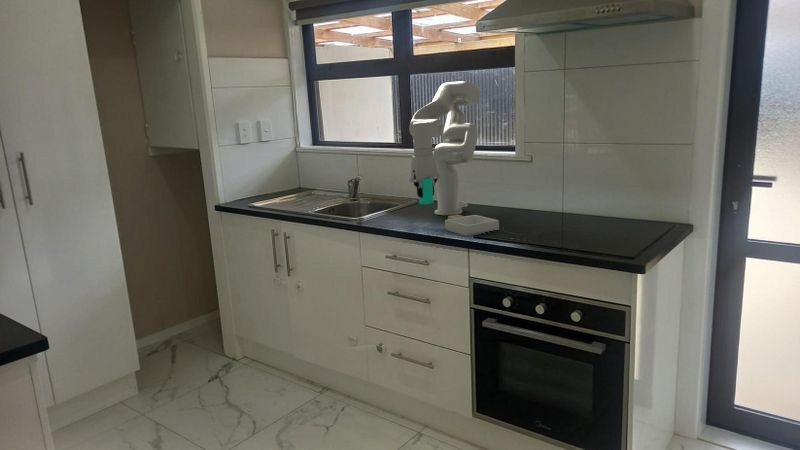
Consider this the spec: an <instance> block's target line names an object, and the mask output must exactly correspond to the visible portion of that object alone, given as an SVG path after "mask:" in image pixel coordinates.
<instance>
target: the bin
mask: <svg viewBox="0 0 800 450" xmlns="http://www.w3.org/2000/svg"><path fill="white" fill-rule="evenodd" d="M493 230H498V231H500V220H498V219H495V218H491V217H486V216H483V215H478V214H472V215H466V216H465V217H459V218H453V219H448V218H447V219H445V220H444V231H448V232H452V233H455V234H458V235H460V236H465V237H471V236H472V237H473V236H476V235H481V233H483V234H486V233H485V232H488V233H490V232H489V231H493ZM493 232H494V231H493Z"/></svg>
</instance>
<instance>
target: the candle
mask: <svg viewBox="0 0 800 450" xmlns="http://www.w3.org/2000/svg"><path fill="white" fill-rule="evenodd" d="M421 183H422V185H421V188H422V191H423V197H422V198H421V197H418V198H419V199H418V202H419V204H420V205H430V204H434V195H433V185H432V178H428V179H424V180H422V181H421ZM418 184H419V182H418Z"/></svg>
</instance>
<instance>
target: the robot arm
mask: <svg viewBox="0 0 800 450" xmlns="http://www.w3.org/2000/svg"><path fill="white" fill-rule="evenodd" d="M480 99H481V91H480V88H479V87H478V86H477V85H475V84H473V83H471V82H468V81H463V80H461V81H450V82H444V83H442V84H441V85H440V86H439V87H438V89H437V91H436V93H435V95H434V97H433V99H432V101H431V102H429V103H427V104H426V105H423V107H421V108H419V109H418V110H417V111H416V112H415V113H414V114H413V116H412V118H411V121H410V123H409V129H408V130H409V134H410V136H412V140H413V142H412V143H413V155H412V158H411V165H410V167H411V171H410V174H411V176H410V178H409V180H408V181H409V183H410V184H411V185H413V186H414V187H415V188H416V194H417V197H418V198H419V197H421V198H422V197H423V191H422V188H421V185H422V183H421V181H422V180H424V179H428V178H432V185H433V196H435V185H436V193H437V209H435V210H434V214H435V215H438V216H452V215H461V214H462V213H463V209H462V208H465V207H468V202H465V201H464V202H460V199H459V198H460V196H459V173H458V171H457V169H456V168H455V165H468V164H470V163H472V160H473V157H474V155H475V154H474V153H475V150H476V145H477V142H478V138H479V137H478V136H479V132H478V127H477V126H476V125H475V124H474V123H471V122H466V115H465V114H464V111H462V109H461V108H460V107H459V106H475V105H477V104H478V103H479V102H480ZM444 116H447V117H446V120H445V124H444V123H443V122H442V120H440V118H443V117H444ZM441 136H442V137H441ZM439 137H441V138H442V140H443V141H442V143H438V144H437V145H436V146H434V147H433V138H439ZM418 182H419V184H418Z"/></svg>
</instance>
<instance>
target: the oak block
mask: <svg viewBox="0 0 800 450" xmlns="http://www.w3.org/2000/svg"><path fill="white" fill-rule="evenodd" d="M459 217H465V216H464V215H461V214H457V215H447V220H448V219H453V218H459Z"/></svg>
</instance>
